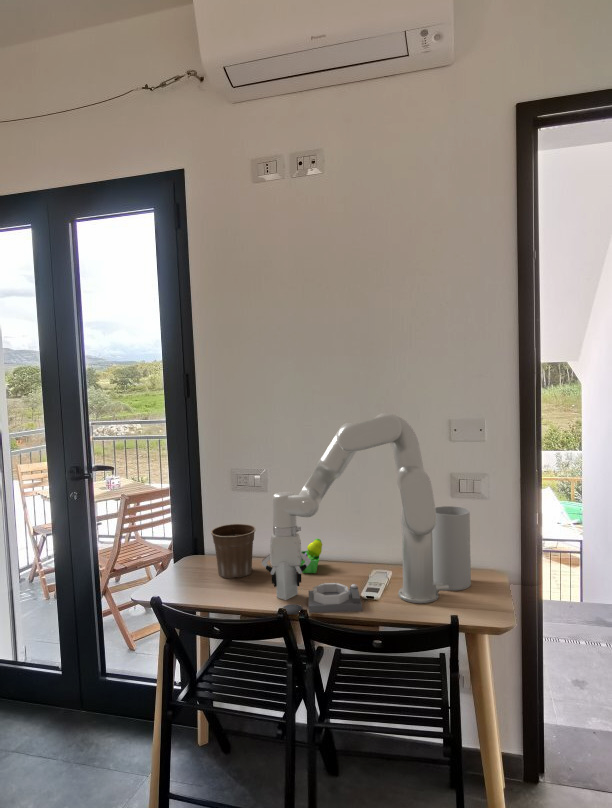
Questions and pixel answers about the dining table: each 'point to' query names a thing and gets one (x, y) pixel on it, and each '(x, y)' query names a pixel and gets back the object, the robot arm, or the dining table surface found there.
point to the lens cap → (292, 609)
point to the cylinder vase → (452, 547)
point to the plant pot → (234, 549)
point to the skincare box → (286, 581)
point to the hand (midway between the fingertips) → (286, 584)
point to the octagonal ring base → (334, 598)
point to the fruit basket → (312, 556)
